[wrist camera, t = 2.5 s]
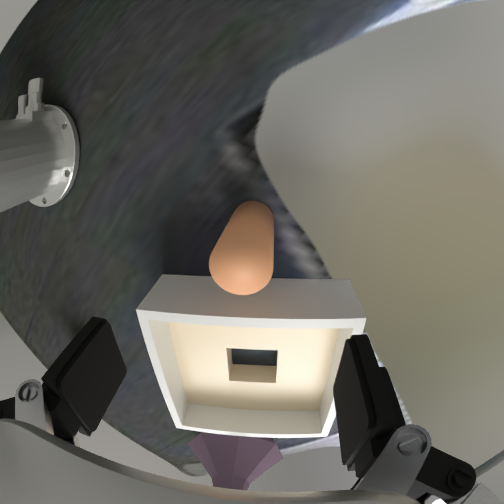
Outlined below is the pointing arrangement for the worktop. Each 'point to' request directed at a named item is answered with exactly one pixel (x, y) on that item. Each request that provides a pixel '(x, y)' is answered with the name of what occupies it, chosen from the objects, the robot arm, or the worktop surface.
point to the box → (249, 337)
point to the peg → (245, 250)
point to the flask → (234, 458)
